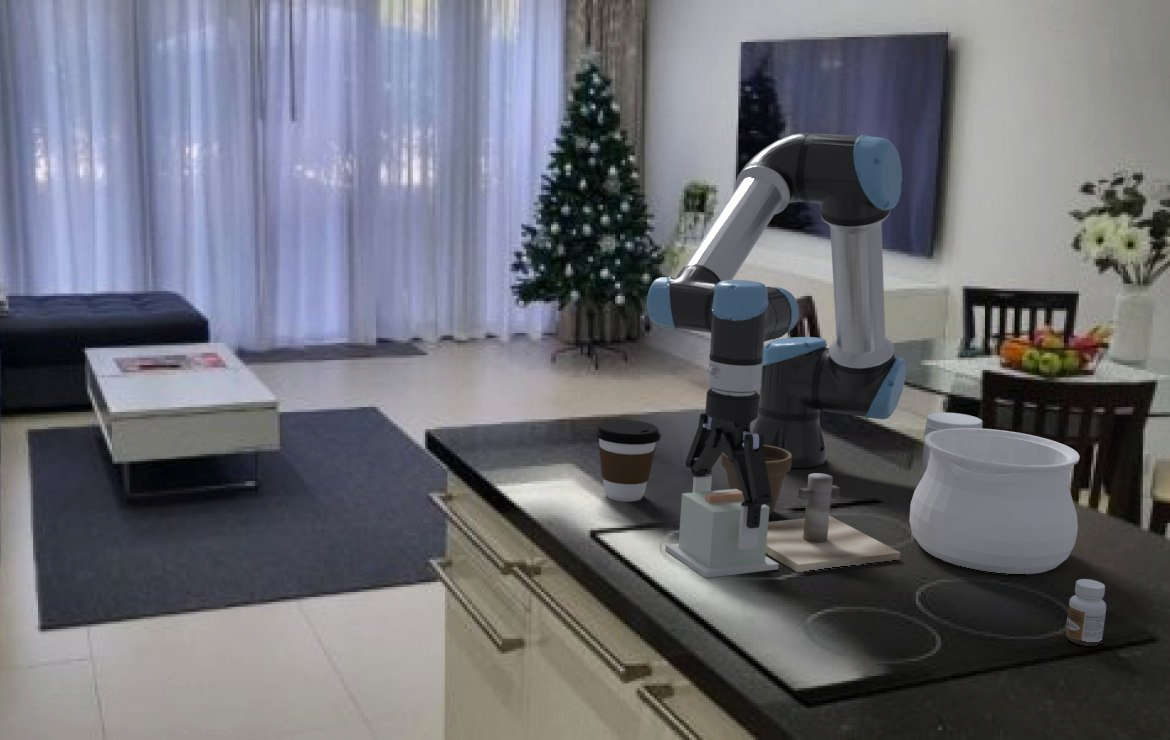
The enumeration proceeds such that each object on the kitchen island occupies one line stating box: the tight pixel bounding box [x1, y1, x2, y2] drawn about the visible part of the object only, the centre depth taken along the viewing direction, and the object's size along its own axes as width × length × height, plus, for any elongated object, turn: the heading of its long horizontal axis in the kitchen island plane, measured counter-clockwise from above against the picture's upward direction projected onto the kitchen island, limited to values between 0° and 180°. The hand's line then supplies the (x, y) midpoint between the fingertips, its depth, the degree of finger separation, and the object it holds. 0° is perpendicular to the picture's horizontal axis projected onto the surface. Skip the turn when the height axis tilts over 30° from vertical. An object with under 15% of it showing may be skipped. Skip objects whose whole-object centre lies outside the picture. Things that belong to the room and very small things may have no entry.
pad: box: [664, 542, 779, 579], centre depth 187 cm, size 12×12×1 cm
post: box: [766, 472, 901, 573], centre depth 193 cm, size 18×18×11 cm
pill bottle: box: [1065, 578, 1107, 642], centre depth 163 cm, size 4×4×8 cm
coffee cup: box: [594, 419, 661, 503], centre depth 214 cm, size 11×11×12 cm
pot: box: [909, 428, 1081, 575], centre depth 194 cm, size 26×24×17 cm
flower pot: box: [720, 445, 792, 515], centre depth 210 cm, size 12×11×10 cm
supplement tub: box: [919, 412, 983, 482], centre depth 221 cm, size 10×10×15 cm
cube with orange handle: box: [678, 489, 770, 568], centre depth 186 cm, size 9×9×9 cm
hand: (722, 533), depth 186 cm, fingers open, 13 cm apart
